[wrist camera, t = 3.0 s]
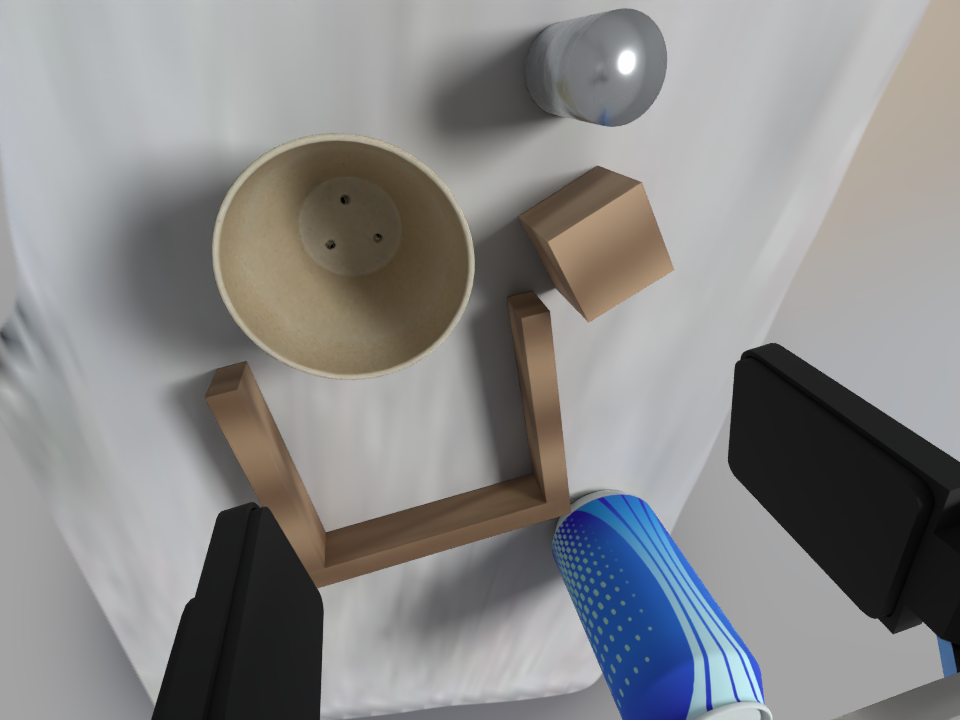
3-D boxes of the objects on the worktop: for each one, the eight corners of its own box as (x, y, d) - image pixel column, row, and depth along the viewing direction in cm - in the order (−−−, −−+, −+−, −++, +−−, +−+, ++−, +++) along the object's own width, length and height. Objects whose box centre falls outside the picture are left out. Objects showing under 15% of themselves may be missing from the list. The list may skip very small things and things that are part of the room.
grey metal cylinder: (520, 29, 24) (566, 18, 19) (601, 13, 25) (667, -1, 19) (529, 122, 26) (574, 135, 21) (604, 106, 27) (665, 115, 22)
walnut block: (517, 216, 28) (547, 241, 24) (597, 165, 28) (641, 182, 24) (555, 287, 31) (588, 322, 27) (628, 242, 31) (674, 269, 26)
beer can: (564, 480, 39) (682, 704, 25) (660, 483, 41) (816, 689, 28) (533, 560, 42) (622, 795, 29) (624, 559, 45) (745, 774, 31)
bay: (217, 368, 29) (204, 398, 26) (532, 290, 31) (549, 311, 28) (310, 554, 37) (307, 591, 34) (556, 483, 39) (571, 513, 36)
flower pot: (407, 87, 24) (427, 93, 18) (469, 278, 29) (502, 333, 23) (201, 159, 24) (151, 190, 18) (301, 340, 29) (289, 412, 23)
